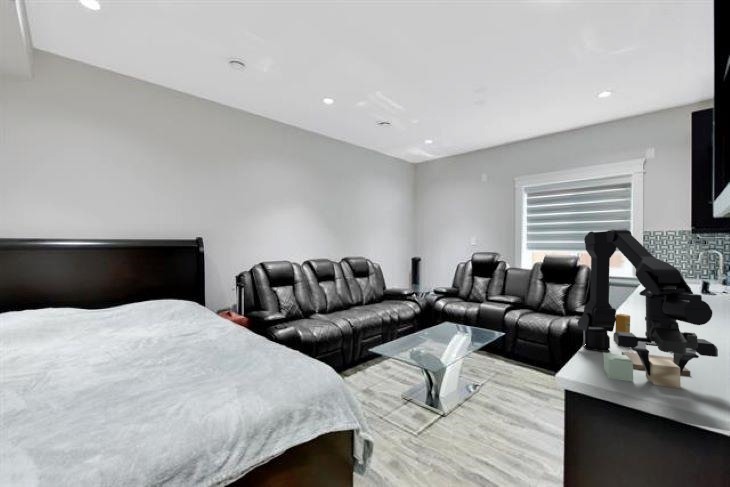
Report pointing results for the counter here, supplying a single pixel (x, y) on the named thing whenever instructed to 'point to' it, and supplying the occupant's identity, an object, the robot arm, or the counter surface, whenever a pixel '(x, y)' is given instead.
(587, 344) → the robot arm
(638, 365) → the walnut baseboard
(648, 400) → the counter surface
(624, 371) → the sage green brick
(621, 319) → the supplement box
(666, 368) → the beech brick
